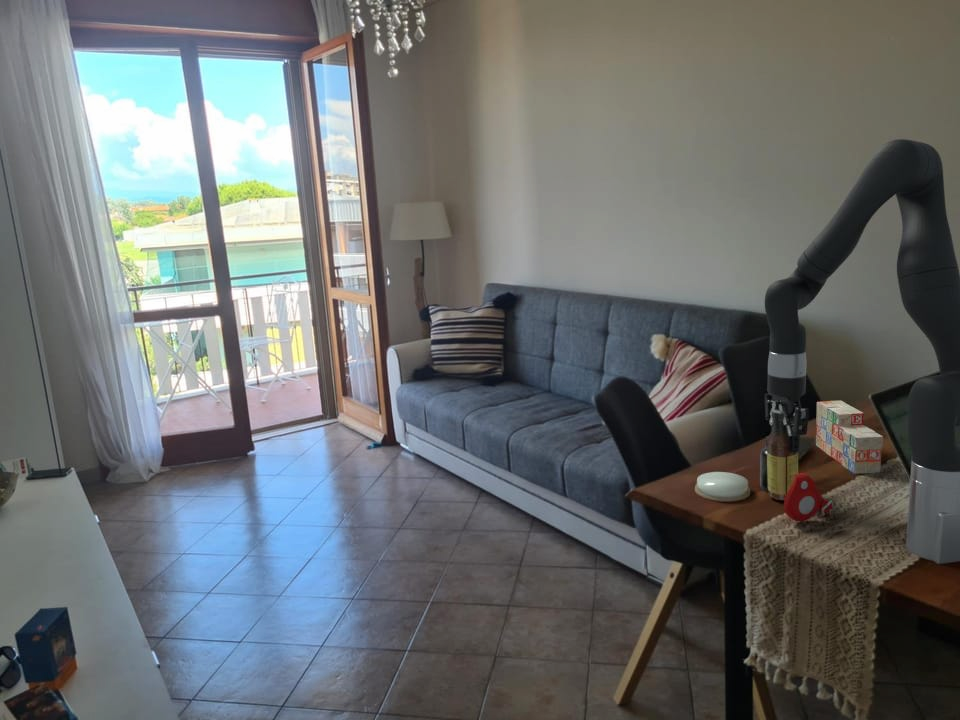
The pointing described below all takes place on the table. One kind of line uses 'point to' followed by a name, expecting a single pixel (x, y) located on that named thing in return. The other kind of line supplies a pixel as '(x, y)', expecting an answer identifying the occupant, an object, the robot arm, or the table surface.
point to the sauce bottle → (780, 459)
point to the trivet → (722, 486)
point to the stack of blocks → (848, 437)
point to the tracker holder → (805, 499)
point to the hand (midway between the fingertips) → (784, 446)
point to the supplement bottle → (764, 468)
